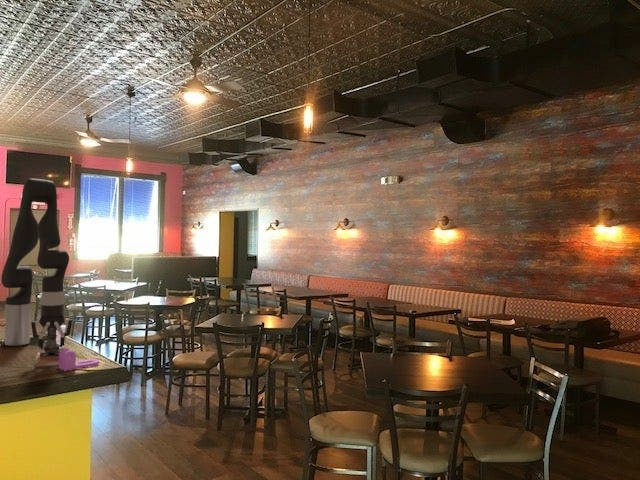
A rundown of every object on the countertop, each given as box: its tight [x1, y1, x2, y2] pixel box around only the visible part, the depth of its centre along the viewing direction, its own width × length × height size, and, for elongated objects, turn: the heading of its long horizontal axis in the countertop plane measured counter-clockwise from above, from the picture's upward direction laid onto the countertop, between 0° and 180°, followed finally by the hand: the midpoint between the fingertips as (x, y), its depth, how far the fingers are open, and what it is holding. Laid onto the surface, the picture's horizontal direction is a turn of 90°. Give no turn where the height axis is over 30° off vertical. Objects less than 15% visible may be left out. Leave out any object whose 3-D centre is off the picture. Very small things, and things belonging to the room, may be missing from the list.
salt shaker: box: [43, 328, 60, 357], centre depth 192 cm, size 6×6×12 cm
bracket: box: [58, 347, 100, 372], centre depth 188 cm, size 13×6×7 cm, turn 135°
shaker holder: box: [35, 350, 61, 368], centre depth 192 cm, size 11×10×3 cm
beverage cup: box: [56, 324, 67, 349], centre depth 214 cm, size 6×6×14 cm
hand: (51, 347), depth 192 cm, fingers closed on salt shaker, 6 cm apart
